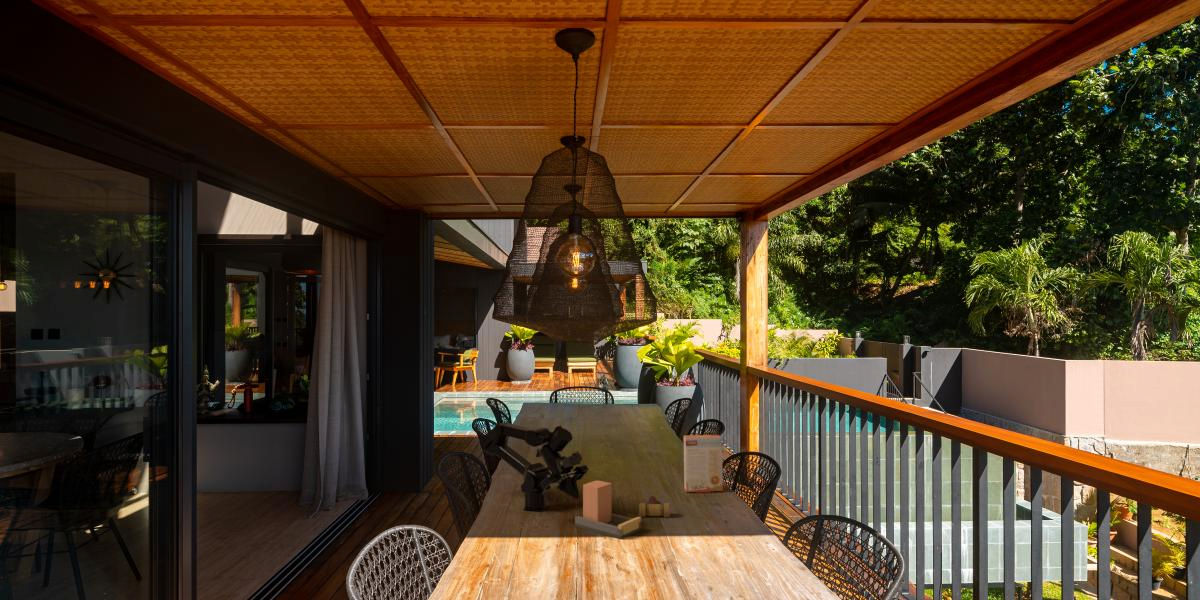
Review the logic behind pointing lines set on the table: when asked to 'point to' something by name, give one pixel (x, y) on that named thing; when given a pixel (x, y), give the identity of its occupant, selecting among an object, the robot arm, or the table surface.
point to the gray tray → (611, 526)
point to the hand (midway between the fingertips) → (578, 498)
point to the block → (597, 501)
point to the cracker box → (703, 463)
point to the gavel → (654, 508)
